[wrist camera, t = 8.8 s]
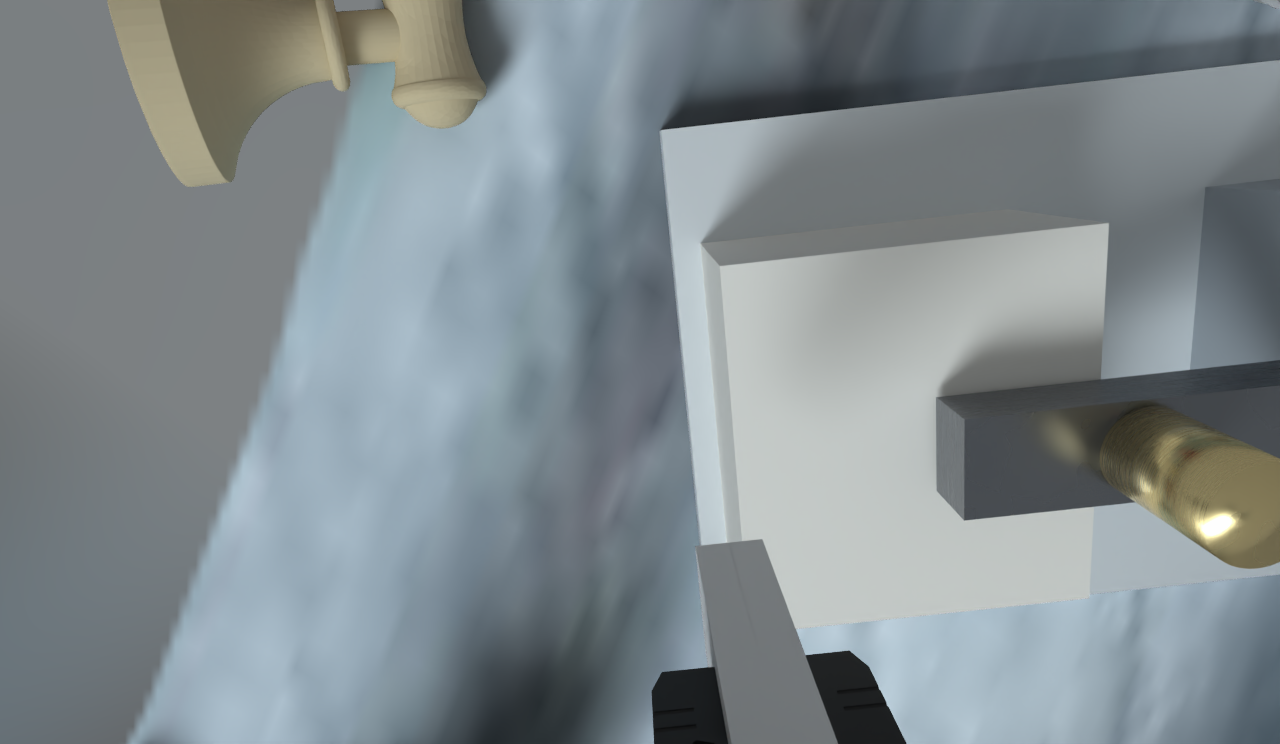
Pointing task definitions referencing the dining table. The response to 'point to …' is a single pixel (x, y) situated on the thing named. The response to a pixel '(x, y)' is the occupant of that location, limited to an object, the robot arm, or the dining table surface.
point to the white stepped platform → (959, 319)
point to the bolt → (1127, 453)
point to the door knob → (280, 66)
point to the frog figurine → (1270, 3)
